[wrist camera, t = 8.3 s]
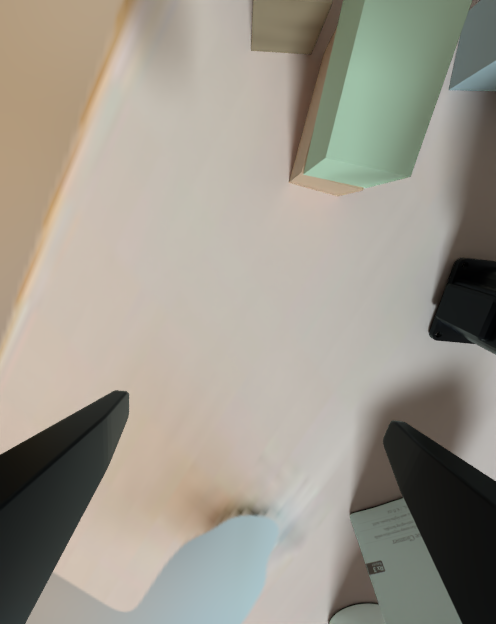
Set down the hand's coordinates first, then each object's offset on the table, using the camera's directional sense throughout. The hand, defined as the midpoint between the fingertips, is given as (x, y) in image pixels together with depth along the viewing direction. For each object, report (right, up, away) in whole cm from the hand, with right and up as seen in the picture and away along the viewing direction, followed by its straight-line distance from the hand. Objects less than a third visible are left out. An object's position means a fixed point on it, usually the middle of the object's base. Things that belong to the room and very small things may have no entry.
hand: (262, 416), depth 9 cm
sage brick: (+5, +14, +4) cm, 15 cm away
